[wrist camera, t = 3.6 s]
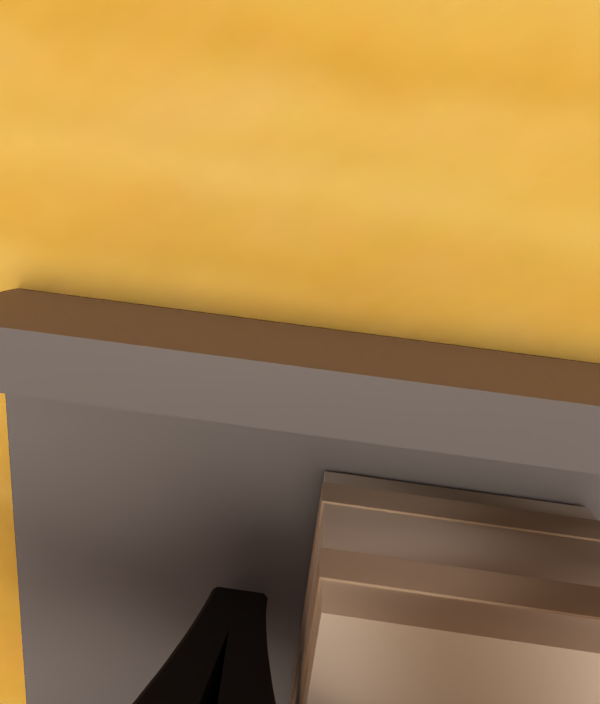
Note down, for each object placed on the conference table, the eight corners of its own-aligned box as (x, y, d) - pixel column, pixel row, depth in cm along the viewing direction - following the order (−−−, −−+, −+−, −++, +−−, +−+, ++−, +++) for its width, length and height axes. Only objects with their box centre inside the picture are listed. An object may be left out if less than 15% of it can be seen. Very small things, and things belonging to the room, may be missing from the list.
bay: (952, 409, 10) (1202, 485, 7) (709, 840, 14) (807, 1000, 11) (16, 288, 11) (-101, 314, 8) (42, 734, 15) (-29, 860, 12)
